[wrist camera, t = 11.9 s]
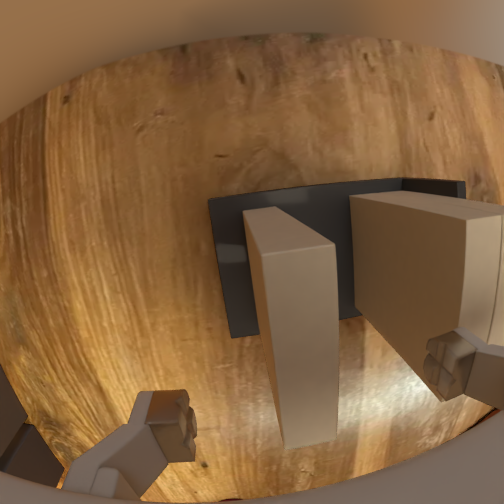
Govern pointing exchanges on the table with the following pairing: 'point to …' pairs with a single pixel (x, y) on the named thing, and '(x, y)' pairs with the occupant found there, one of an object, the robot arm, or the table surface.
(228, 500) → the cup
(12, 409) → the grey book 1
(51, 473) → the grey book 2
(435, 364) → the robot arm
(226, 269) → the book rack
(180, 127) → the table surface
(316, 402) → the brown flat block
